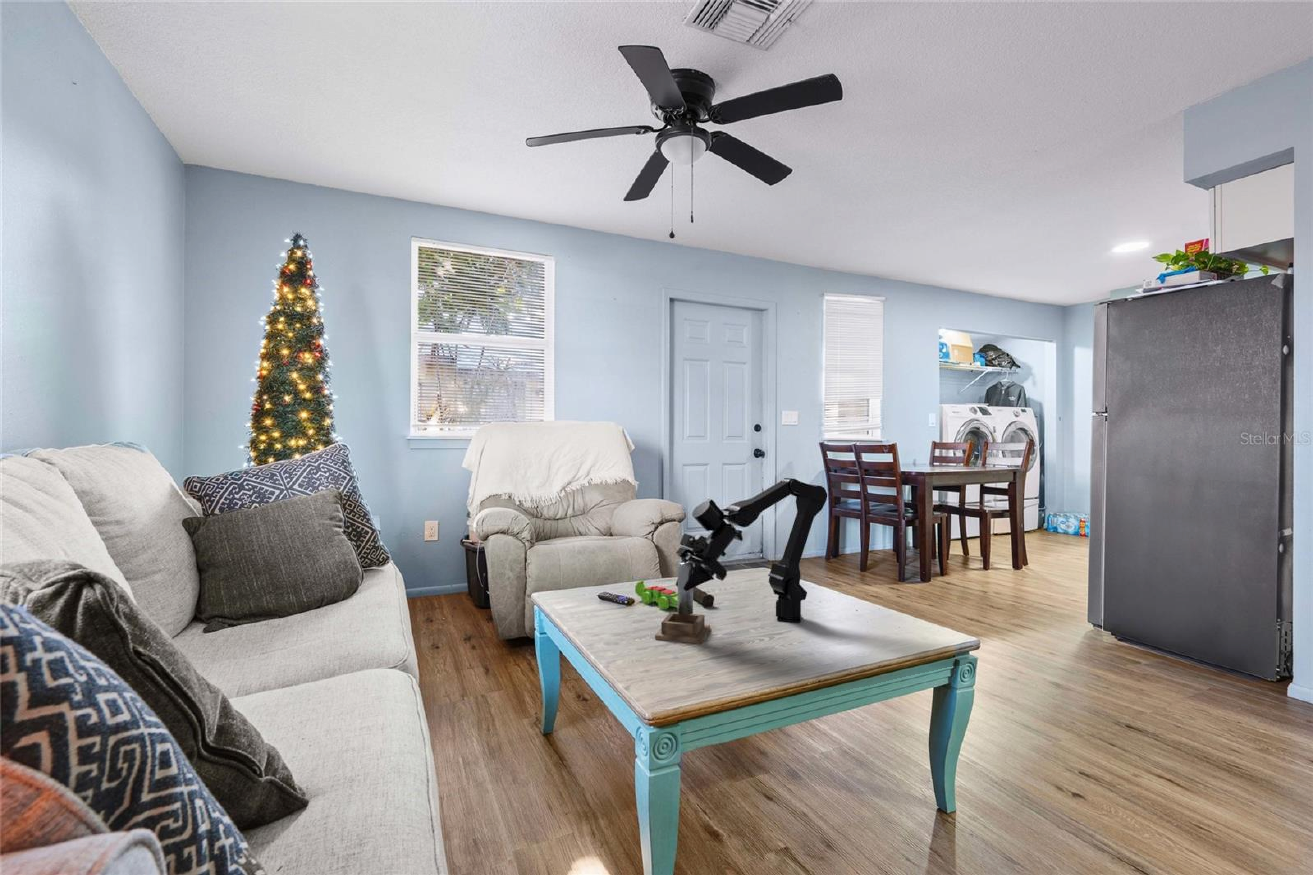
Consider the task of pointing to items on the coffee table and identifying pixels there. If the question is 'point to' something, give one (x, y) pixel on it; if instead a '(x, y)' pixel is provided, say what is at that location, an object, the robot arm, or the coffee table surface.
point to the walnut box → (683, 628)
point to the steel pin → (683, 596)
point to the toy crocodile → (657, 595)
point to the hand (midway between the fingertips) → (680, 588)
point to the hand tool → (703, 597)
